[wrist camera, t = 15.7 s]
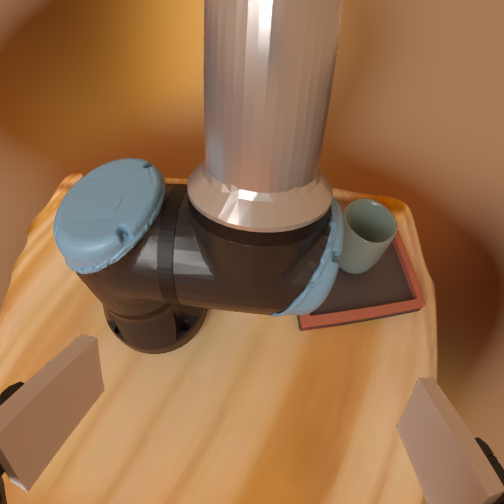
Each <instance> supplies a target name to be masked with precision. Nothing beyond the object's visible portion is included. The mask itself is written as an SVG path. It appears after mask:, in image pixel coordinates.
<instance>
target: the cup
mask: <svg viewBox="0 0 504 504" xmlns="http://www.w3.org/2000/svg"><path fill="white" fill-rule="evenodd" d="M343 216H344V243H343V250H342V252H341V253H340V255H339V263H340V265H339V267H340V268H341V269H342V270H344V271H345V272H347V273H350V274H361V273H364V272H366V271H368V270H369V269H371V268H372V267H373V266H374V265H375V264H376V263H377V262H378V261H379V260H380V258H381V257H382V256H383V254H384V253H385V251H386V250H387V248H388V247H389V245H390V244H391V242H392V241H393V239H394V237H395V235H396V232H397V223H396V220H395V218H394V216H393V215H392V213H391V212H390V211H389V210H388V209H387V208H386V207H385V206H383V205H382V204H380V203H379V202H377V201H375V200H372V199H366V198H363V199H357V200H354V201H352V202H351V203H349V204H348V205H347V206H346V208H345V209H344V211H343Z"/></svg>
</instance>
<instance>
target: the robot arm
mask: <svg viewBox="0 0 504 504" xmlns="http://www.w3.org/2000/svg"><path fill="white" fill-rule="evenodd" d="M204 2H205V3H204V128H205V160H204V161H203V162H202V163H201V164H200V165H199V166H197V167H196V168H195V169H194V171H193V172H192V173H191V175H190V177H189V179H188V183H187V185H185V184H166V183H165V179H164V177H163V175H162V173H160V172H159V170H158V169H157V168H156V167H154V166H152V164H151V163H150V162H148V161H146V160H143V159H137V158H124V159H118V160H114V161H111V162H108V163H106V164H103V165H101V166H99V167H97V168H95V169H94V170H92V171H91V172H89V173H88V174H87V175H86V176H84V177H82V178H81V179H80V180H79V181H78V182H77V183H75V185H74V186H73V187H72V188H71V189H70V190H69V191H68V193H67V194H66V195H65V197H64V198H63V200H62V202H61V204H60V206H59V208H58V210H57V213H56V216H55V221H54V237H55V241H56V244H57V246H58V248H59V250H60V252H61V253H62V255H63V256H64V258H65V261H66V264H67V265H68V266H69V268H71V269H72V270H74V271H75V272H76V273H77V275H78V276H79V277H80V278H81V279H82V281H83V282H84V283H85V284H86V285H87V286H88V288H89V289H90V290H91V291H92V292H93V293H94V294H95V296H96V297H97V298H98V299H99V300H100V301H101V302H102V303H103V308H104V313H105V317H106V320H107V323H108V325H109V327H110V328H111V330H112V331H113V333H114V334H115V335H116V336H117V337H118V338H119V339H120V340H121V341H122V342H123V343H124V344H126V345H127V346H129V347H130V348H132V349H134V350H136V351H139V352H143V353H148V354H161V353H166V352H170V351H173V350H175V349H177V348H179V347H181V346H183V345H184V344H186V343H187V342H188V341H189V340H191V339H192V338H193V337H194V335H195V334H196V333H197V332H198V330H199V329H200V327H201V325H202V323H203V321H204V319H205V315H206V311H207V308H209V309H217V310H226V311H235V312H244V313H254V314H264V315H270V316H275V317H277V316H282V315H305V314H308V313H311V312H313V311H314V310H316V309H317V308H318V307H319V306H320V305H321V304H322V303H323V302H324V301H325V299H326V298H327V296H328V294H329V293H330V290H331V288H332V286H333V284H334V282H335V279H336V276H337V273H338V269H339V265H340V263H339V255H340V253H341V252H342V250H343V243H344V216H343V211H342V208H341V206H340V204H339V202H338V201H337V200H336V199H335V198H333V192H332V187H331V184H330V182H329V181H328V179H327V178H326V177H325V175H324V174H323V173H322V172H321V170H320V169H319V162H320V157H321V151H322V145H323V139H324V134H325V128H326V122H327V116H328V110H329V103H330V97H331V90H332V83H333V77H334V70H335V63H336V56H337V48H338V41H339V32H340V24H341V16H342V7H343V0H205V1H204ZM103 391H104V385H103V378H102V372H101V365H100V358H99V350H98V341H97V338H95V337H92V336H88V335H85V334H81V335H80V336H79V337H78V338H77V339H76V340H74V341H73V342H72V343H71V344H70V345H68V346H67V347H66V348H65V349H64V350H63V351H61V352H60V353H59V354H58V355H57V356H56V357H54V358H53V359H52V360H51V361H50V362H49V363H48V364H46V365H45V366H44V367H43V368H42V369H41V370H40V371H38V372H37V373H36V374H35V375H34V376H33V377H32V378H31V379H29V380H28V381H27V382H26V383H25V384H24V383H22V382H18V383H16V384H14V385H11V386H9V387H8V388H7V389H6V390H4V391H3V392H2V393H1V395H0V504H7V501H6V495H5V488H4V482H3V479H2V477H1V476H2V475H3V473H4V472H5V473H6V474H7V476H8V477H9V479H10V480H11V482H13V483H14V484H16V485H17V486H19V487H21V488H22V489H24V490H25V491H27V492H28V491H29V490H30V489H31V487H32V486H33V484H34V483H35V482H36V480H37V479H38V477H39V476H40V475H41V473H42V472H43V471H44V469H45V468H46V467H47V465H48V464H49V462H50V461H51V460H52V458H53V457H54V456H55V454H56V453H57V452H58V450H59V449H60V448H61V446H62V445H63V444H64V442H65V441H66V440H67V438H68V437H69V436H70V434H71V433H72V432H73V430H74V429H75V428H76V426H77V425H78V424H79V422H80V421H81V420H82V419H83V417H84V416H85V415H86V413H87V412H88V411H89V409H90V408H91V407H92V406H93V404H94V403H95V402H96V400H97V399H98V398H99V396H100V395H101V394H102V393H103ZM396 427H397V430H398V432H399V434H400V437H401V439H402V441H403V444H404V446H405V448H406V451H407V453H408V456H409V458H410V461H411V463H412V466H413V468H414V471H415V473H416V476H417V478H418V481H419V483H420V486H421V488H422V491H423V494H424V496H425V499H426V502H427V504H504V469H503V468H502V466H501V465H500V463H498V460H497V458H496V457H495V456H493V452H492V451H491V449H490V448H489V446H488V445H487V444H486V443H485V442H484V441H482V440H481V439H480V438H474V437H473V436H472V434H471V432H470V431H469V429H468V428H467V426H466V425H465V423H464V422H463V420H462V419H461V417H460V416H459V414H458V413H457V412H456V410H455V409H454V407H453V406H452V404H451V403H450V401H449V400H448V398H447V397H446V396H445V394H444V393H443V391H442V390H441V388H440V387H439V386H438V384H437V383H436V381H435V380H434V379H433V378H418V379H417V382H416V384H415V386H414V389H413V391H412V394H411V396H410V398H409V400H408V403H407V405H406V407H405V409H404V411H403V413H402V416H401V418H400V420H399V422H398V424H397V426H396Z"/></svg>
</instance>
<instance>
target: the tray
mask: <svg viewBox="0 0 504 504" xmlns="http://www.w3.org/2000/svg"><path fill="white" fill-rule="evenodd" d="M382 205H383V206H385V207H386V208H387V205H386V204H382ZM346 206H347V205H342V206H341V208H342V211H344V209H345V208H346ZM387 209H388V208H387ZM425 305H426V303H425V300H424V297H423V295H422V292H421V289H420V286H419V283H418V280H417V278H416V275H415V272H414V270H413V267H412V264H411V262H410V259H409V257H408V254H407V252H406V249H405V247H404V244H403V242H402V240H401V237H400V235H399V232H398V230H397V232H396V235H395V237H394V239H393V241H392V242H391V244H390V245H389V247H388V248H387V250H386V251H385V253H384V254H383V256H382V257H381V258H380V260H379V261H378V262H377V263H376V264H375V265H374V266H373V267H372V268H371V269H369V270H368V271H366V272H364V273H361V274H350V273H347V272H345V271H344V270H342V269H341V268H340V267H339V269H338V273H337V276H336V279H335V282H334V284H333V286H332V288H331V290H330V293H329V294H328V296H327V298H326V299H325V301H324V302H323V303H322V304H321V305H320V306H319V307H318V308H317V309H316V310H314V311H313V312H311V313H308V314H305V315H297V318H298V323H299V328H300V331H305V330H312V329H319V328H326V327H333V326H339V325H345V324H351V323H357V322H363V321H369V320H374V319H380V318H385V317H390V316H395V315H400V314H405V313H410V312H415V311H419V310H420V309H421V308H422V307H424V306H425Z"/></svg>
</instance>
